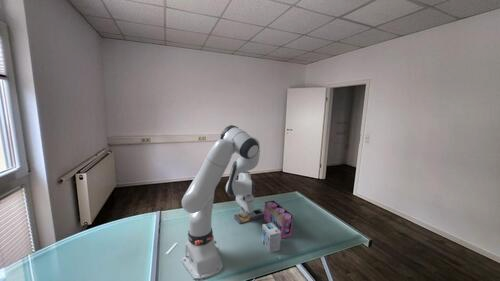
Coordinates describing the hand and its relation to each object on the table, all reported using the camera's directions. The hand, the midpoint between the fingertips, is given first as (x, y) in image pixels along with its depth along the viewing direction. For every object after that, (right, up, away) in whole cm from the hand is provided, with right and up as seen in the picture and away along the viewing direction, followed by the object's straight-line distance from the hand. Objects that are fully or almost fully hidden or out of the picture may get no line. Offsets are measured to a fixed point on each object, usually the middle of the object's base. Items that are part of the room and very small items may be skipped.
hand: (243, 212), depth 135 cm
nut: (0, -3, 0) cm, 3 cm away
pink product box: (+22, -7, -7) cm, 24 cm away
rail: (+5, -5, +4) cm, 8 cm away
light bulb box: (+16, -10, -25) cm, 31 cm away
